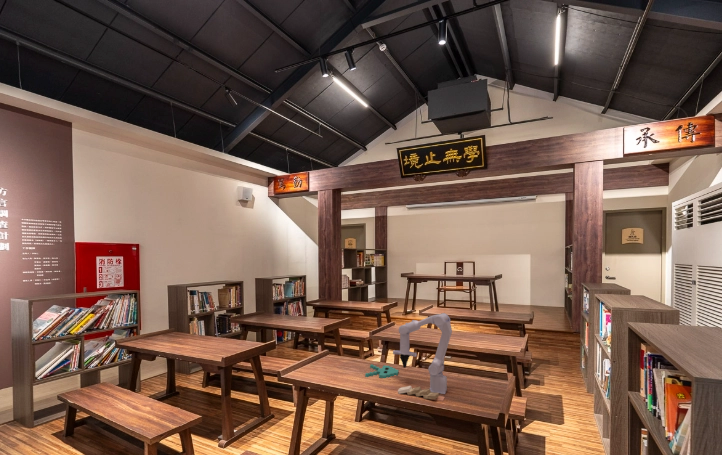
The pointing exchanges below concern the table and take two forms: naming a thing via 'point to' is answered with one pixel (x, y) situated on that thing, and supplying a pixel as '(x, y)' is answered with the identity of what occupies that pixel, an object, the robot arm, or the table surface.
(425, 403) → the table surface
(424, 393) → the domino
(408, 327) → the robot arm
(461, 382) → the table surface
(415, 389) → the domino
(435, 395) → the domino
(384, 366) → the alien figure
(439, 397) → the domino
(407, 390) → the white domino
